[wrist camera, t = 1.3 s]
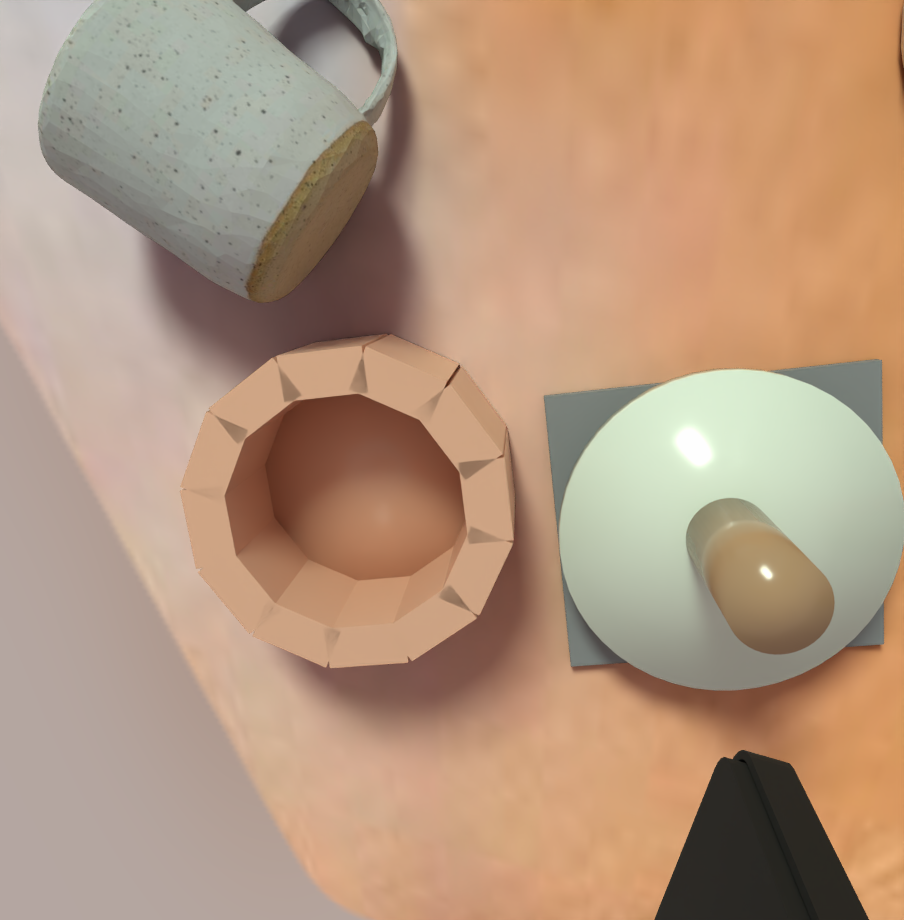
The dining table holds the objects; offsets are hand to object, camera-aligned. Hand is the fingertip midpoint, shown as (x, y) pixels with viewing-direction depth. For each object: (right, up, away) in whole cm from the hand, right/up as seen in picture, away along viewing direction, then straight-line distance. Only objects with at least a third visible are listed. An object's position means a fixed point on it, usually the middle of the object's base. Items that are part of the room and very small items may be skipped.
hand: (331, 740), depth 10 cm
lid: (+12, +1, +21) cm, 24 cm away
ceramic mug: (-5, +16, +19) cm, 25 cm away
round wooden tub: (-2, +3, +22) cm, 22 cm away
